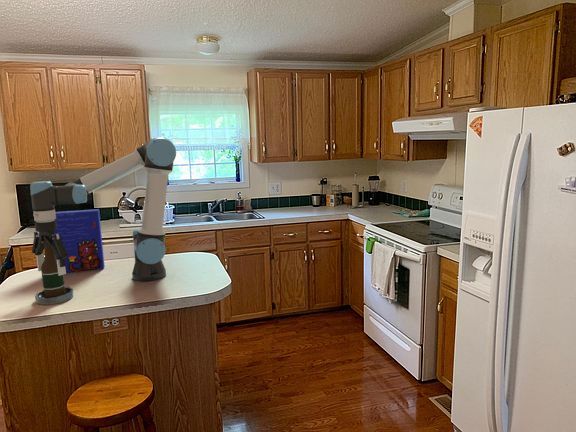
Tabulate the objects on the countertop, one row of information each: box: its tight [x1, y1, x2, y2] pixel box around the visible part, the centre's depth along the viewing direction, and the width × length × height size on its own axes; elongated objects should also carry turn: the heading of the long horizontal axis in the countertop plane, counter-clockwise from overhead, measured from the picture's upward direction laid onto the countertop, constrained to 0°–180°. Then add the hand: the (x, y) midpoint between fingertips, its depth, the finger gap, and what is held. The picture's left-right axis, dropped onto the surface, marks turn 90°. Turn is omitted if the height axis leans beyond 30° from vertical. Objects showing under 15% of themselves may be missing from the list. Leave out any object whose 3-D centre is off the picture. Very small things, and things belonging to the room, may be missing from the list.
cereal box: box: [54, 208, 105, 274], centre depth 210 cm, size 22×6×30 cm, turn 109°
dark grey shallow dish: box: [34, 286, 74, 306], centre depth 173 cm, size 13×13×3 cm
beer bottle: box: [40, 240, 66, 298], centre depth 171 cm, size 8×8×24 cm
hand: (51, 272), depth 171 cm, fingers open, 13 cm apart
